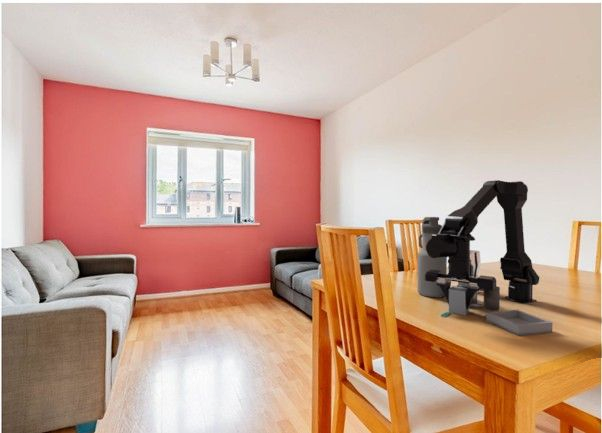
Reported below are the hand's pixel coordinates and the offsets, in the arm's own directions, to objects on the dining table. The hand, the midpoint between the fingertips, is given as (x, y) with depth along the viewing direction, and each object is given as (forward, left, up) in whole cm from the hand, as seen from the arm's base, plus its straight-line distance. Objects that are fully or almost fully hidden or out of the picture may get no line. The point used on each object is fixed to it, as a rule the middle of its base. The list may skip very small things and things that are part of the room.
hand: (458, 307), depth 95 cm
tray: (-7, +14, -1) cm, 15 cm away
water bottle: (-4, -19, -2) cm, 20 cm away
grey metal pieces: (-2, -4, -1) cm, 5 cm away
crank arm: (-8, -1, 0) cm, 8 cm away
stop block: (0, 0, -1) cm, 1 cm away
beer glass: (-20, -19, -2) cm, 28 cm away
